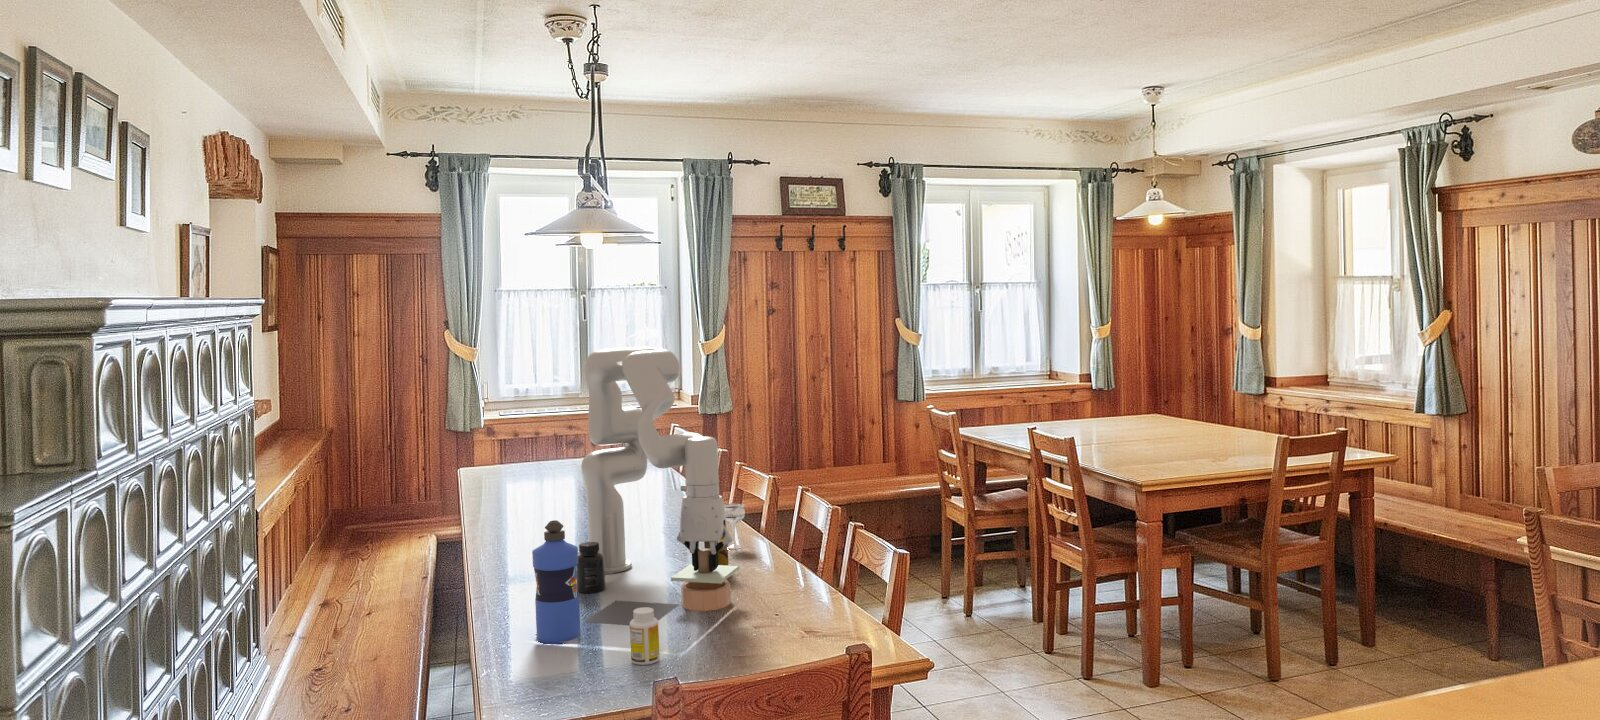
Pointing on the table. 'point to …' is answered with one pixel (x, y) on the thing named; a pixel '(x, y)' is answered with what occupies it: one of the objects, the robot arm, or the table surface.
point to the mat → (627, 612)
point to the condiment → (720, 553)
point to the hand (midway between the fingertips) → (705, 568)
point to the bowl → (705, 595)
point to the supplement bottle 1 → (590, 569)
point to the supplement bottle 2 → (644, 637)
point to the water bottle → (556, 587)
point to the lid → (704, 571)
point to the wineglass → (734, 517)
